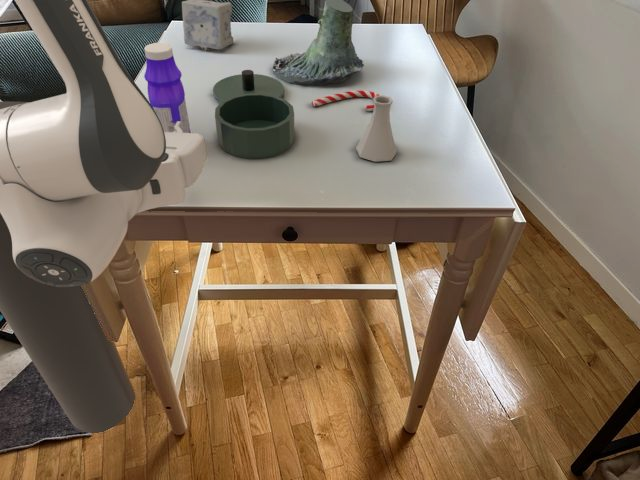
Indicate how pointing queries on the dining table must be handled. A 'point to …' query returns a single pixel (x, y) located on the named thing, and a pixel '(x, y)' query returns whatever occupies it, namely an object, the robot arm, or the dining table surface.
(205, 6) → the incense holder
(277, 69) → the tree stump
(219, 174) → the dining table surface
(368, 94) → the candy cane
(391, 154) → the flask
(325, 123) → the dining table surface
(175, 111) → the bottle
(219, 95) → the bin lid
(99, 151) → the robot arm
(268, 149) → the bin
